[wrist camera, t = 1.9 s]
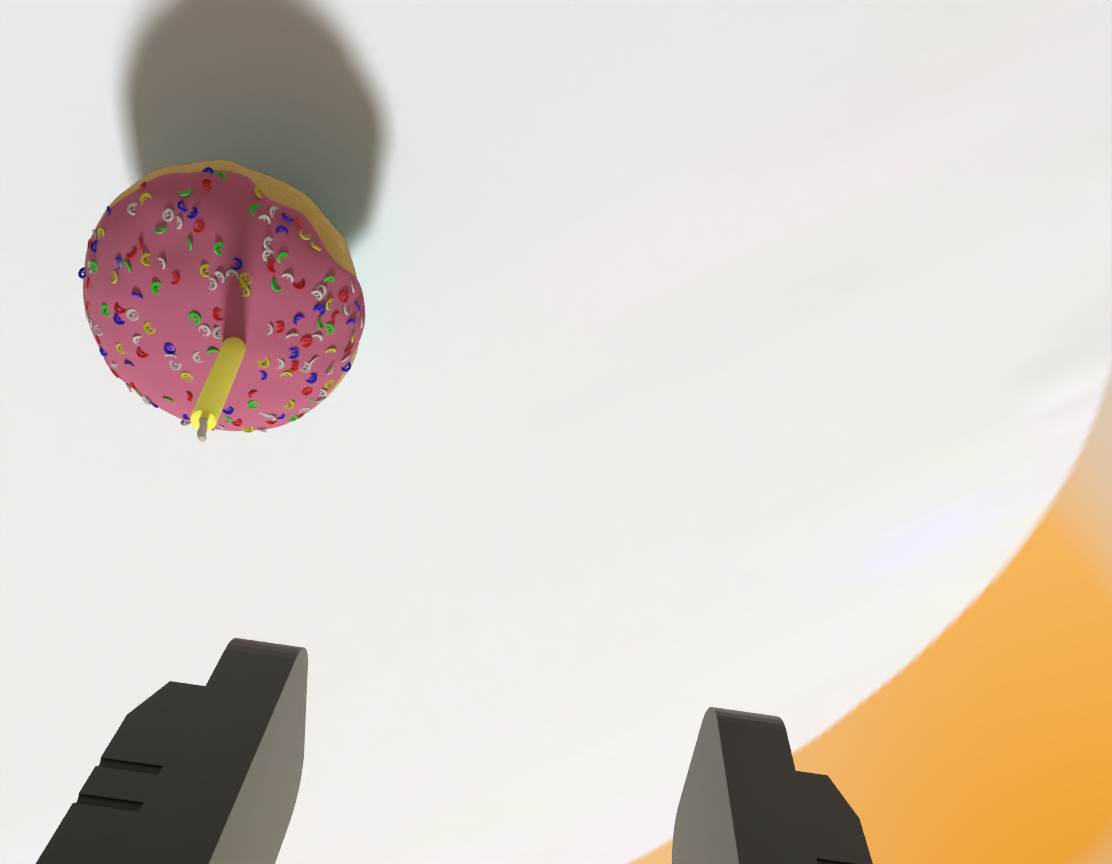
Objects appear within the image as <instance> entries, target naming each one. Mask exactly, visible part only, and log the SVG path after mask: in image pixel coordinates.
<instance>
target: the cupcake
mask: <svg viewBox="0 0 1112 864" xmlns="http://www.w3.org/2000/svg"><path fill="white" fill-rule="evenodd" d="M83 271H84V272H83ZM82 273H84V276H82V275H81V274H82ZM78 275H79V277H80V278H82V279H83V297H84V306H85V311H86V319H87V320H88V322H89V325H90V328H91V331H92V333H93V335H94V338H95V340H96V342H97V344H98V346H99V348H100V353H101V354H102V355H103V357H104V359H105V361H106V363H107V365H108V366H109V368H110V369H111V371H112V372H113V374H114V375H115V376H116V377H117V378H120V379H121V380H123V381H124V382H125V383H126V385H127V387H128V390H129V392H132V391H131V388H130V387H132V388H133V389H134V390H135V391H136V392H137V394H138V395H139V396H140V397H142V396H143V397H142V399H143V401H144V402H145V403H146V404H149V405H153V406H154V407H156V408H158V407H159V408H161V409H163V410H164V411H166V412H168V413H170V414H172V415H174V416H176V417H178V418H180V419H183V420H182V421H181V425H183V426H186V425H189V424H190V423H191V424H192V425H193V426H194V427H195V428H196V429H198V431H197V436H198V438H199V440H200V441H205V440H206V432H207V431H209V430H214V429H218V430H227V431H244V432H252V431H253V430H259V431H262V432H267V431H266V430H263V429H270V428H275V427H278V426H282V425H284V424H287V423H289V422H291V421H295V420H296V419H297V418H298V419H299V418H300V417H302V416H303V415H304V414H305V413H307V412H309V411H310V410H311V409H313V408H314V407H316V406H317V405H318V404H319V403H321V402H322V401H323V400H325V399H326V397H327V396H328V395H329V394H330V393H331V392H332V391H333V390H334V389H335V388H336V387H337V385H338V384H339V383H340V382H341V380H342V379H343V378H344V376H345V375H346V374H347V372H348V371H349V370H350V368H351V366H352V364H353V361H354V359H355V356H356V353H357V350H358V345H359V340H360V338H361V335H362V332H363V328H364V323H365V305H364V298H363V293H362V290H361V287H360V284H359V282H358V280H357V277H356V272H355V268H354V265H353V262H352V259H351V256H350V253H349V250H348V247H347V245H346V242H345V240H344V239H343V237H342V235H341V234H340V233H339V231H338V230H337V229H336V228H335V227H334V226H333V225H332V224H331V223H330V221H329V220H328V219H327V218H326V217H325V216H324V214H323V213H322V212H321V211H320V209H319V208H318V207H317V206H316V205H315V204H314V202H313V201H312V200H311V199H310V198H309V197H307V196H306V195H305V194H304V193H303V192H301V191H300V190H298V189H296V188H295V187H293V186H291V185H289V184H287V183H285V182H282V181H280V180H278V179H275V178H273V177H271V176H268V175H265V174H262V173H259V172H256V171H253V170H250V169H248V168H245V167H243V166H241V165H239V164H237V163H234V162H231V161H226V160H213V161H204V162H197V163H190V164H182V165H174V166H168V167H163V168H160V169H157V170H155V171H153V172H151V173H149V174H148V175H146V176H145V177H143V178H142V179H141V180H139V181H138V182H136V183H135V184H134V185H132V186H131V187H130V188H128V189H127V190H126V191H124V192H123V193H122V194H120V195H119V196H118V197H117V198H116V199H115V200H114V201H113V202H112V203H111V204H110V205H109V206H107V210H106V211H105V213H104V214H103V216H102V218H101V219H100V221H99V223H98V225H97V226H96V228H95V230H94V229H93V234H92V237H91V239H89V241H88V248H87V252H86V258H85V267H83V268H81V269H80V270H79V272H78ZM184 421H186V422H184ZM187 422H188V423H187ZM184 423H185V424H184Z"/></svg>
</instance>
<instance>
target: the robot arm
mask: <svg viewBox="0 0 1112 864" xmlns="http://www.w3.org/2000/svg"><path fill="white" fill-rule="evenodd" d="M307 671H308V655H307V650H306V649H305V648H302V647H295V646H288V645H281V644H274V643H267V642H260V641H253V640H246V639H239V638H234V639H233V640H231V641H230V643H229V644H228V645H227V647H226V649H225V651H224V652H223V654H222V656H221V658H220V660H219V662H218V664H217V666H216V668H215V669H214V671H213V673H212V675H211V677H210V679H209V681H208V683H207V684H206V686H200V685H193V684H186V683H179V682H172V681H170V682H169V683H167V684H166V685H165V686H163V687H162V688H161V689H160V690H158V691H157V692H156V693H154V694H153V695H152V696H151V697H149V698H148V699H147V700H145V701H144V702H143V703H142V704H140V705H139V706H138V707H136V708H135V709H134V710H133V711H131V712H130V713H129V714H127V716H126V717H125V719H124V721H123V722H122V724H121V726H120V727H119V729H118V730H117V732H116V734H115V735H114V737H113V739H112V740H111V742H110V743H109V745H108V747H107V748H106V750H105V752H104V753H103V755H102V756H101V761H100V764H99V766H95V768H94V770H93V771H92V773H91V774H90V776H89V778H88V779H87V781H86V783H85V784H84V786H83V787H82V789H81V791H80V792H79V797H78V800H77V802H76V803H73V804H72V805H71V807H70V809H69V810H68V812H67V814H66V815H65V817H64V818H63V820H62V822H61V823H60V825H59V827H58V828H57V830H56V832H55V833H54V835H53V836H52V838H51V840H50V841H49V843H48V845H47V846H46V848H45V849H44V851H43V853H42V854H41V856H40V858H39V859H38V861H37V863H36V864H275V862H276V859H277V856H278V853H279V850H280V848H281V845H282V842H283V839H284V836H285V833H286V831H287V828H288V825H289V822H290V819H291V816H292V813H293V810H294V806H295V802H296V798H297V794H298V790H299V785H300V780H301V774H302V767H303V759H304V740H305V717H306V694H307ZM672 864H873V863H872V860H871V857H870V853H869V850H868V846H867V843H866V839H865V836H864V833H863V830H862V826H861V823H860V819H859V817H858V816H857V815H856V813H855V812H854V811H853V809H852V808H851V807H850V805H849V804H848V803H847V801H846V800H845V798H844V797H843V796H842V794H841V793H840V792H839V790H838V789H837V788H836V786H835V785H834V784H833V782H832V781H831V779H830V778H829V777H828V776H827V775H821V774H814V773H807V772H800V771H795V766H794V762H793V758H792V753H791V749H790V745H789V741H788V736H787V732H786V728H785V725H784V723H783V721H782V719H781V718H780V717H778V716H771V715H764V714H757V713H750V712H743V711H736V710H729V709H722V708H715V707H710V708H709V709H708V710H707V711H706V713H705V715H704V718H703V721H702V724H701V728H700V731H699V735H698V739H697V742H696V746H695V749H694V753H693V756H692V760H691V763H690V767H689V770H688V774H687V778H686V781H685V785H684V788H683V792H682V795H681V799H680V802H679V806H678V810H677V815H676V820H675V826H674V835H673V850H672Z"/></svg>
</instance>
